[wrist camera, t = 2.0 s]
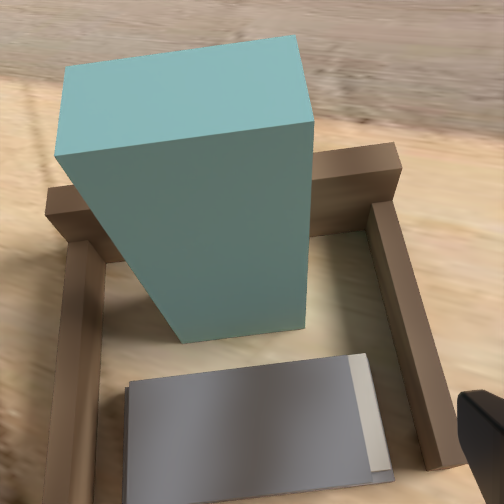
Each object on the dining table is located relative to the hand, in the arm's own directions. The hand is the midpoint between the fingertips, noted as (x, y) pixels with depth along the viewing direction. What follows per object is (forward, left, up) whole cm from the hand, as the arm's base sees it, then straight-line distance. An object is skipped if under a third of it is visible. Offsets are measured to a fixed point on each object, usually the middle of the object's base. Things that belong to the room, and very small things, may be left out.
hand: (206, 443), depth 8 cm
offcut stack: (+1, +2, -13) cm, 13 cm away
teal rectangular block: (+2, +8, -13) cm, 15 cm away
